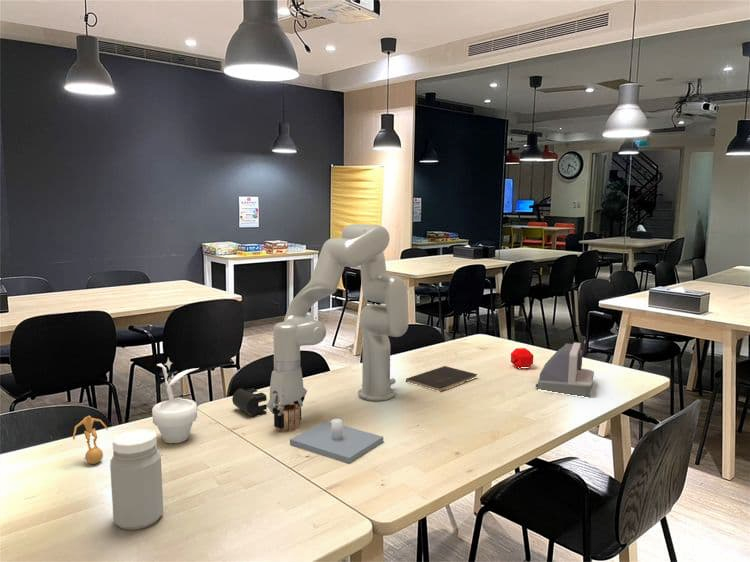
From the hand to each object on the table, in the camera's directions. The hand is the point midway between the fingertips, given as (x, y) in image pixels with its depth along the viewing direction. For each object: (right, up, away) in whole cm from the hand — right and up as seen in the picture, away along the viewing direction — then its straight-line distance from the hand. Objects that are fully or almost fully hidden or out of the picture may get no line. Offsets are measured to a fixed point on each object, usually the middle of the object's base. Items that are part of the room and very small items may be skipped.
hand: (288, 422), depth 165 cm
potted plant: (-29, -2, -9) cm, 31 cm away
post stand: (+15, -3, -11) cm, 19 cm away
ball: (+85, +6, +63) cm, 106 cm away
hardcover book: (+51, +4, +45) cm, 68 cm away
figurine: (-46, -4, -23) cm, 51 cm away
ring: (0, -1, 0) cm, 1 cm away
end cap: (-14, 0, +12) cm, 18 cm away
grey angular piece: (+95, +3, +39) cm, 103 cm away
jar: (-23, -8, -49) cm, 55 cm away
